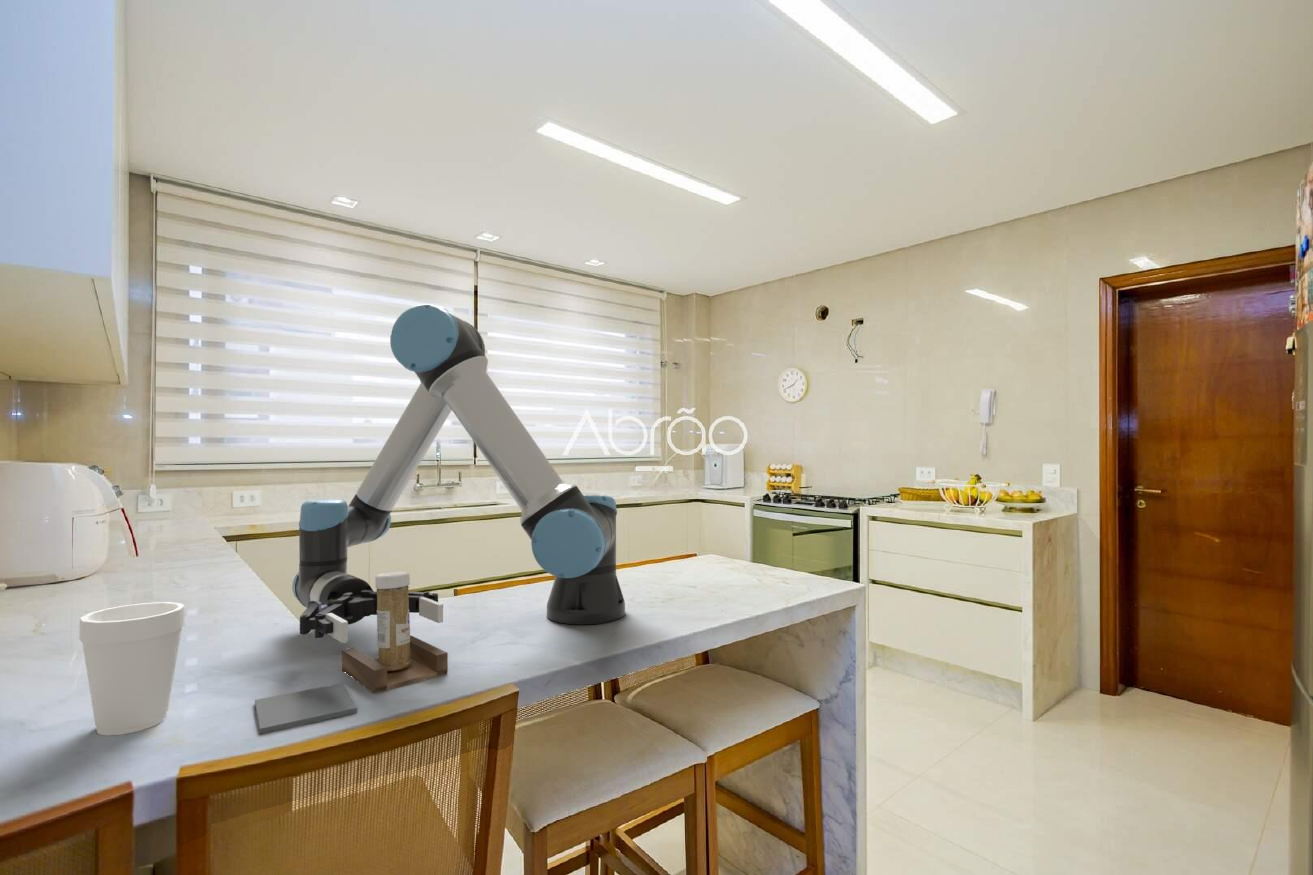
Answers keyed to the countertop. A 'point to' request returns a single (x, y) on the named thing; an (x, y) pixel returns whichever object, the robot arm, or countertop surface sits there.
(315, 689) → the slate coaster
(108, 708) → the foam cup
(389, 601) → the spice jar
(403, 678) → the walnut cradle
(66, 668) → the countertop surface
